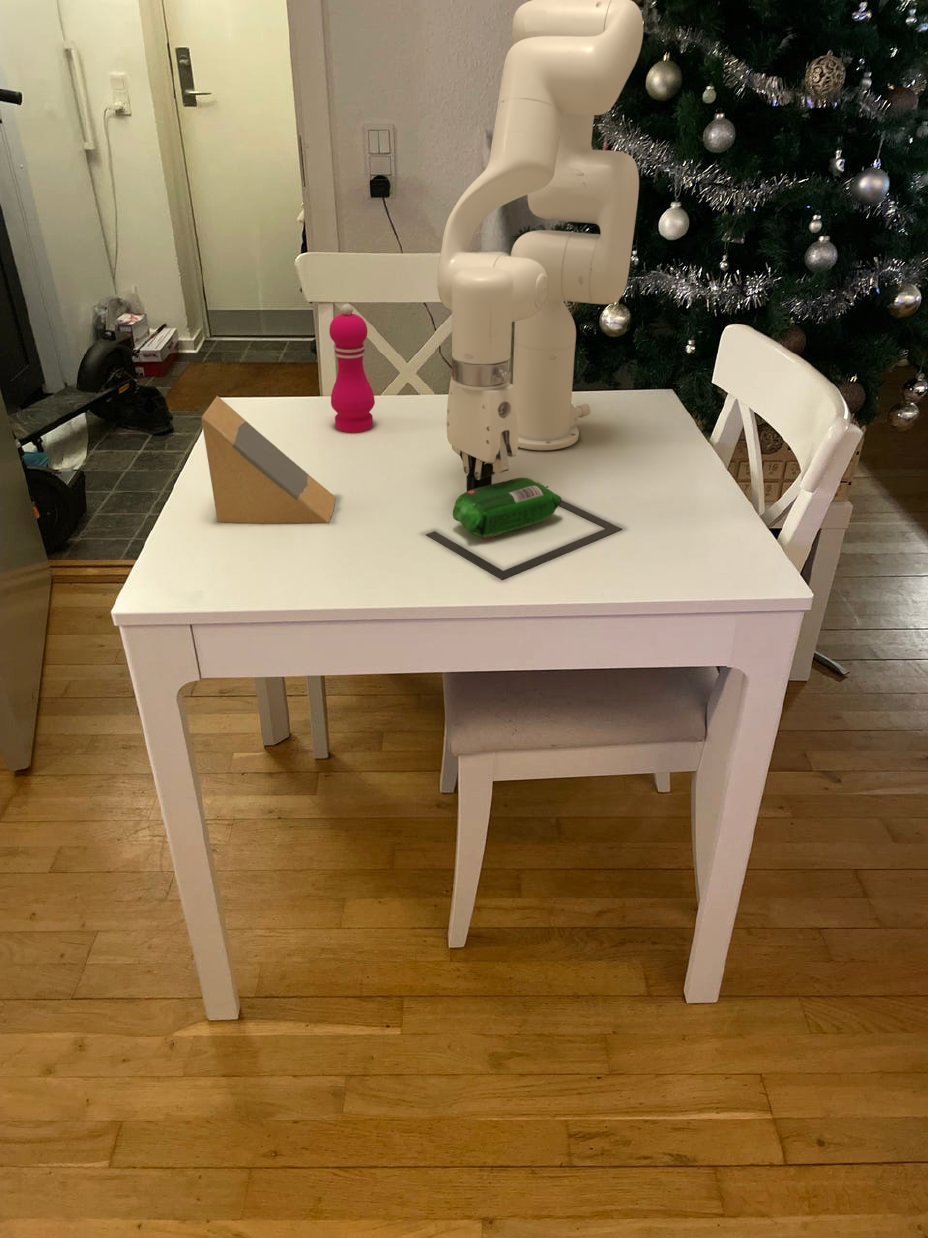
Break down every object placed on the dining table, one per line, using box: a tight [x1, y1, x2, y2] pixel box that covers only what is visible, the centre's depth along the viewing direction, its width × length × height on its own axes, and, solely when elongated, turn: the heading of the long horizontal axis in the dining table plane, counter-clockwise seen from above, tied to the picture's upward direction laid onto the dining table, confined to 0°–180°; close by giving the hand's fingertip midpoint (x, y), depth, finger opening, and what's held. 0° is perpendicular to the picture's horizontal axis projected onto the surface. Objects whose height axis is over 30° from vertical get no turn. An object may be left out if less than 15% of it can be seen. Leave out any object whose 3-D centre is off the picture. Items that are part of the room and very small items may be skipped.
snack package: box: [452, 477, 563, 539], centre depth 126 cm, size 7×16×5 cm, turn 121°
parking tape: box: [425, 499, 623, 581], centre depth 126 cm, size 22×15×1 cm
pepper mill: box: [328, 303, 376, 434], centre depth 153 cm, size 7×7×20 cm
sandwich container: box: [201, 395, 337, 524], centre depth 127 cm, size 9×15×15 cm, turn 90°
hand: (478, 500), depth 131 cm, fingers closed
